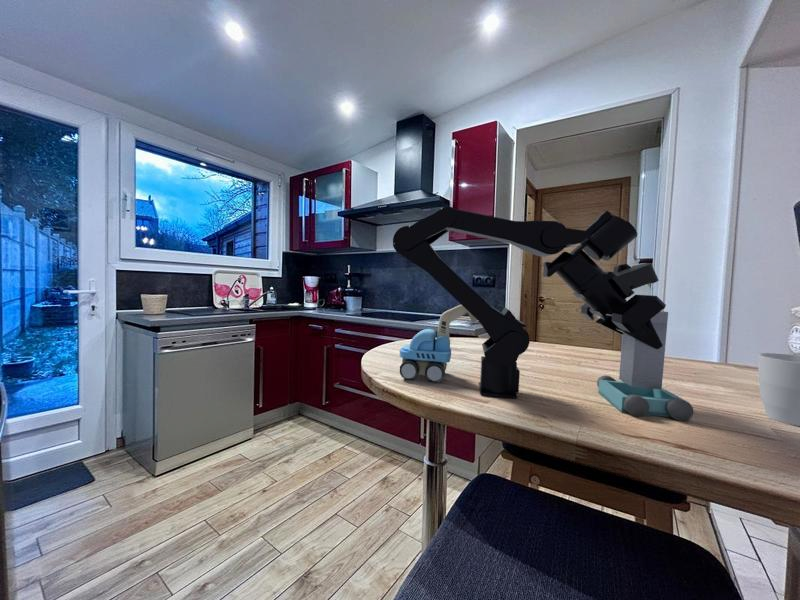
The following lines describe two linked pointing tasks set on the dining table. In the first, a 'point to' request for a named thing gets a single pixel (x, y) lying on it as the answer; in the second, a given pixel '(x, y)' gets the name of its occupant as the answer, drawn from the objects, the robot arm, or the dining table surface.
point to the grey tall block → (644, 357)
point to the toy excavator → (430, 349)
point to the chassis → (643, 400)
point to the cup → (780, 386)
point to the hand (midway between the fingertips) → (651, 344)
